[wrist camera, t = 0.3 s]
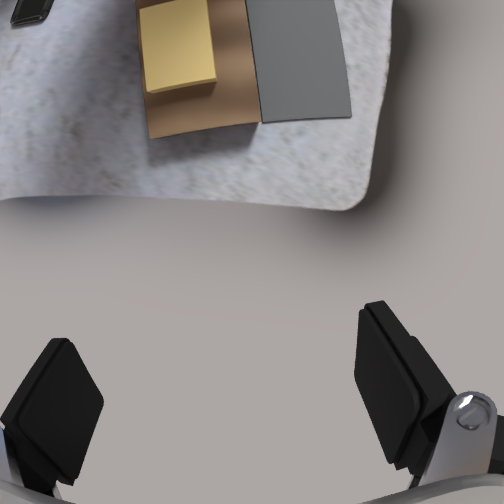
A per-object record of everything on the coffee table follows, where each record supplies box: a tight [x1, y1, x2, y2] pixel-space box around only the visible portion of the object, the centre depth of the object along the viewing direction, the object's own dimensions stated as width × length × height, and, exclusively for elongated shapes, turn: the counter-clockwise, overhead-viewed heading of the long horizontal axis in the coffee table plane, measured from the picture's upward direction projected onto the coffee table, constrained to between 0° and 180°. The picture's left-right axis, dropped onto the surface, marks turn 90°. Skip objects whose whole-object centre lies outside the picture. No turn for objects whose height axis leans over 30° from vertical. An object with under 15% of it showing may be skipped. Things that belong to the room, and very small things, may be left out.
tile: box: [140, 0, 217, 94], centre depth 26 cm, size 10×7×2 cm
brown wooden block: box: [136, 0, 261, 139], centre depth 29 cm, size 20×12×4 cm, turn 7°
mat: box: [246, 0, 352, 122], centre depth 30 cm, size 20×11×1 cm, turn 7°
